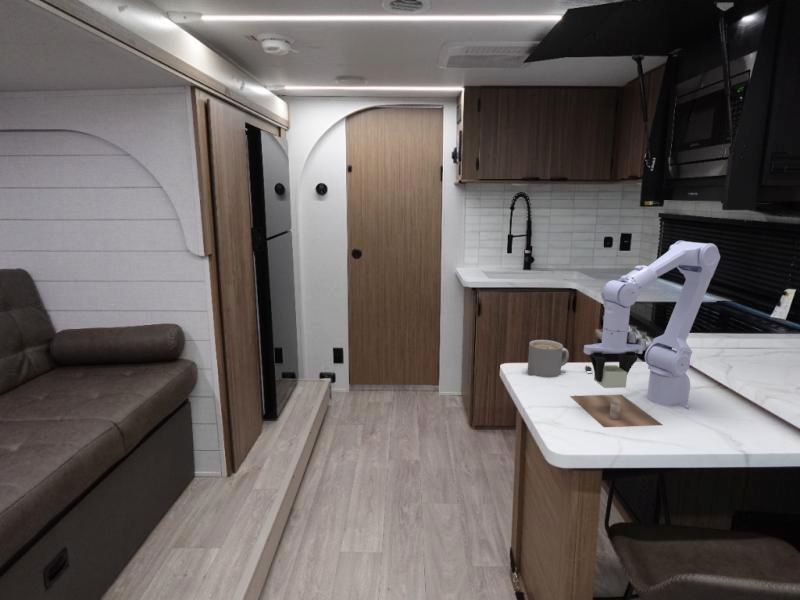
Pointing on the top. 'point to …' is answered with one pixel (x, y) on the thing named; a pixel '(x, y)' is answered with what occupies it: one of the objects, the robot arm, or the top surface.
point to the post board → (604, 411)
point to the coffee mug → (546, 358)
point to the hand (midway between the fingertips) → (609, 380)
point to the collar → (613, 377)
